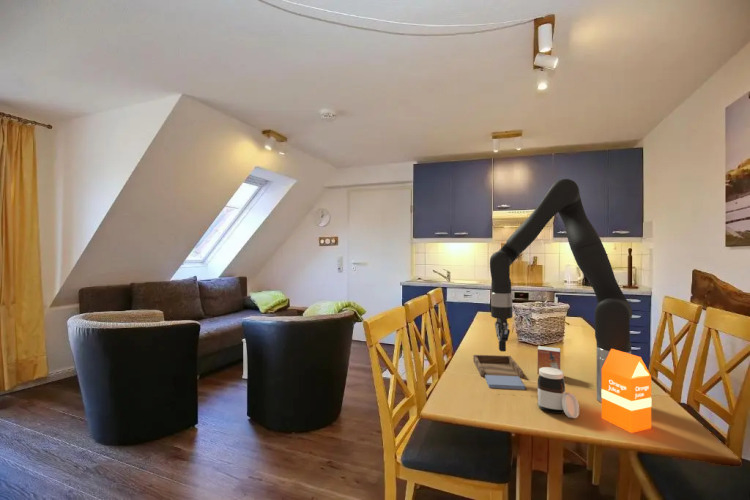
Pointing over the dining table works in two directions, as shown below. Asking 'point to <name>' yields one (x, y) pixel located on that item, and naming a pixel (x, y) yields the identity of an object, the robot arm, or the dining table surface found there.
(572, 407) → the spread jar
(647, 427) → the orange juice
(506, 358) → the walnut tray
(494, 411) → the dining table surface
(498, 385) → the cover plate
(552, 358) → the small box
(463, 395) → the dining table surface
